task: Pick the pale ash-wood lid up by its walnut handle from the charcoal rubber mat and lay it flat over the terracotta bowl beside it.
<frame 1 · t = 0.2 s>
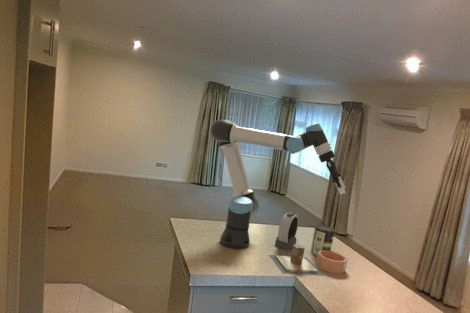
hand: (343, 191, 185), 35 cm above the counter, tool tilted 35°, fingers open, 13 cm apart
lid: (295, 264, 172), resting on mat
alarm clock: (285, 245, 198), on the counter
mat: (295, 265, 172), on the counter
coffee can: (319, 254, 194), on the counter
bowl: (330, 267, 177), on the counter
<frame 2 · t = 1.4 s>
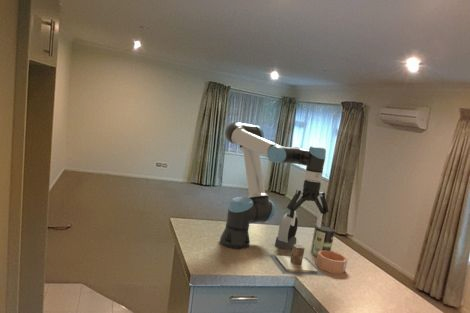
hand: (305, 225, 171), 19 cm above the counter, tool pointing down, fingers open, 13 cm apart
nothing on the counter moved.
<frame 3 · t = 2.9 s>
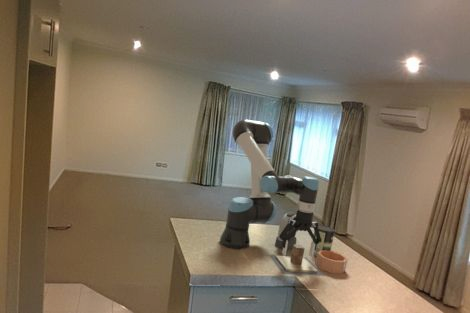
hand: (297, 255, 171), 5 cm above the counter, tool pointing down, fingers open, 13 cm apart
nothing on the counter moved.
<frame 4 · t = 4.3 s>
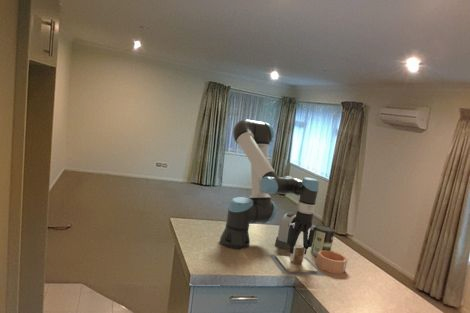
hand: (296, 260, 172), 3 cm above the counter, tool pointing down, fingers closed on lid, 4 cm apart
lid: (295, 264, 172), resting on mat, touching gripper
everything else where it was.
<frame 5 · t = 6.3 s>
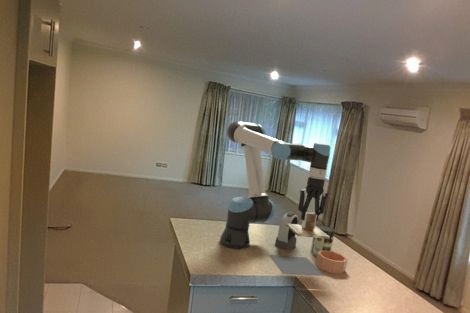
hand: (308, 227, 170), 19 cm above the counter, tool pointing down, fingers closed on lid, 4 cm apart
lid: (307, 231, 170), point 17 cm above the counter, touching gripper
everything else where it was.
when the fingers open (9 cm above the counter, at t = 8.5 s): lid stays where it is, resting on bowl.
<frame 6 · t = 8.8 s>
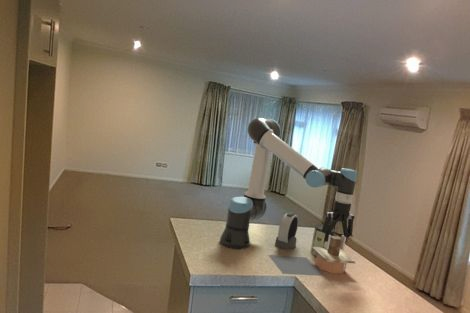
hand: (333, 248, 176), 10 cm above the counter, tool pointing down, fingers open, 7 cm apart
lid: (332, 255, 176), point 6 cm above the counter, touching bowl
everything else where it was.
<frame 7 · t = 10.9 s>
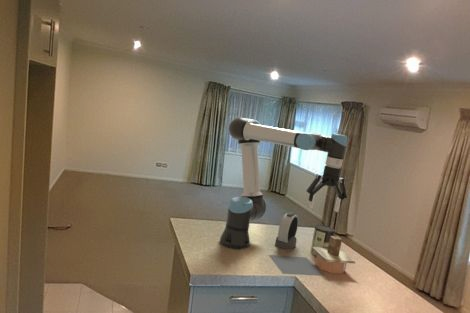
hand: (323, 209, 178), 26 cm above the counter, tool pointing down, fingers open, 13 cm apart
nothing on the counter moved.
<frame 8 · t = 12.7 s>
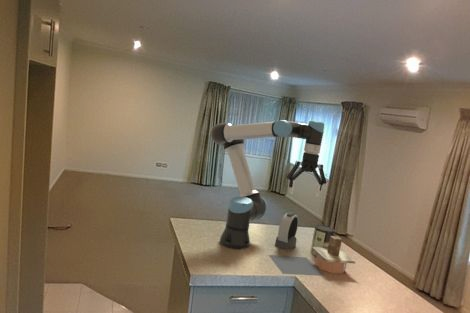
hand: (303, 195, 182), 31 cm above the counter, tool pointing down, fingers open, 13 cm apart
nothing on the counter moved.
at the end: lid 0.1 cm off-centre on the bowl, point 6.0 cm above the bowl's base; lid tilted 0°; the gripper is holding nothing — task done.
